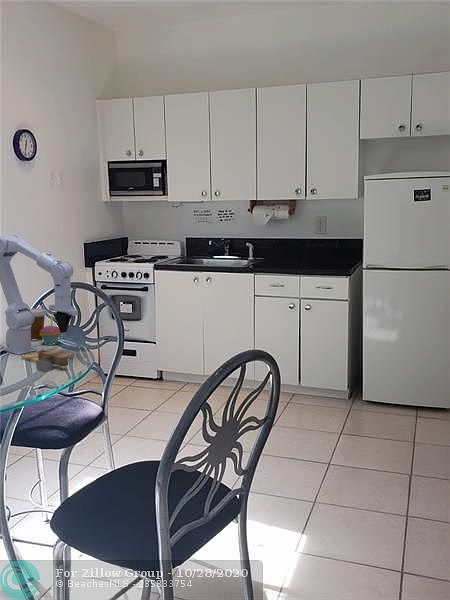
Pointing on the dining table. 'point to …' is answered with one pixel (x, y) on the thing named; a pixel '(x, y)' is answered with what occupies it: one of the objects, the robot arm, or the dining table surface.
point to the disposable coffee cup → (37, 323)
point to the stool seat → (34, 356)
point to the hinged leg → (53, 357)
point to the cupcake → (50, 333)
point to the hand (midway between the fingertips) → (63, 332)
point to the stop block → (44, 365)
